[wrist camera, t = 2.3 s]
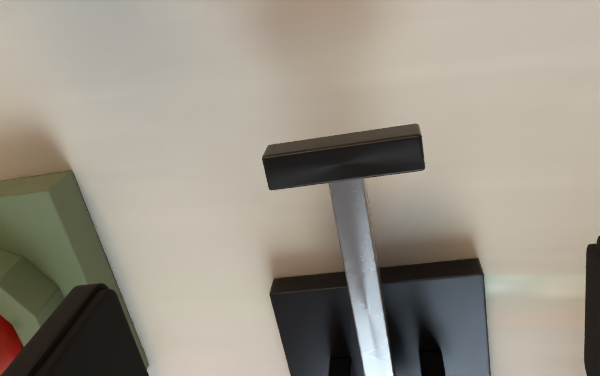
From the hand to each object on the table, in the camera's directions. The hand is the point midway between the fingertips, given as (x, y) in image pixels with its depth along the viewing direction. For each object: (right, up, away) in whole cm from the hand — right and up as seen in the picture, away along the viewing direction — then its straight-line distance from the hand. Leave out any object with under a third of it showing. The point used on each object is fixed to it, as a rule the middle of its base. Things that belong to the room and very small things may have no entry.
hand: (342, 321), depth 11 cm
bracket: (+3, -6, +16) cm, 17 cm away
